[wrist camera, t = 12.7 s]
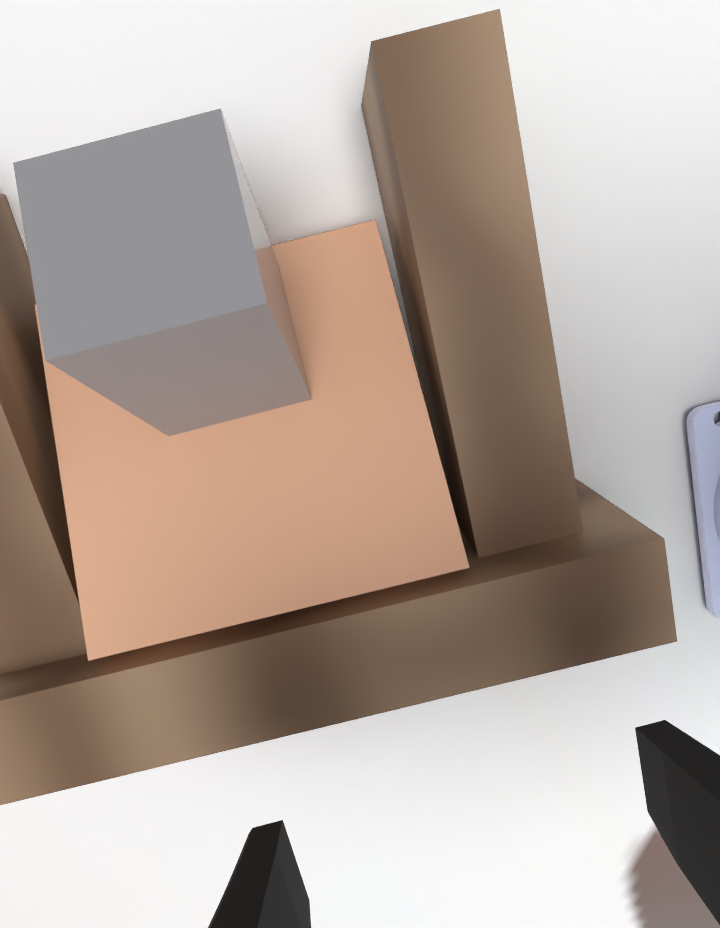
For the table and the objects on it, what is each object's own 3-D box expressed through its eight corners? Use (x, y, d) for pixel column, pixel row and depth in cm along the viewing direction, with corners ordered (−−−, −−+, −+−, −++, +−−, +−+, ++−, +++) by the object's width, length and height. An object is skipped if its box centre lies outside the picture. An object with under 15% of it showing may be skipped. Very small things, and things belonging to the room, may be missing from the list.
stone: (279, 266, 17) (220, 108, 11) (311, 399, 17) (267, 303, 11) (142, 302, 17) (13, 163, 11) (168, 436, 17) (45, 360, 11)
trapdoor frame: (508, 68, 18) (591, -45, 13) (585, 555, 22) (677, 641, 16) (-140, 231, 19) (-354, 194, 13) (50, 685, 22) (-47, 816, 17)
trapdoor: (376, 242, 19) (375, 219, 17) (464, 568, 17) (469, 567, 16) (57, 321, 19) (34, 304, 18) (109, 654, 17) (88, 660, 16)
